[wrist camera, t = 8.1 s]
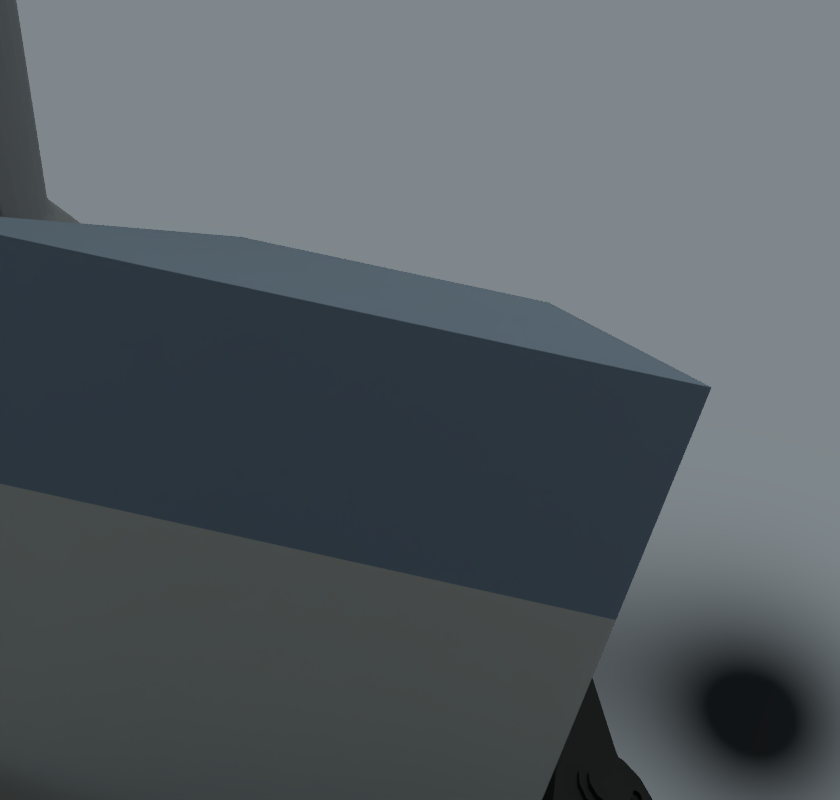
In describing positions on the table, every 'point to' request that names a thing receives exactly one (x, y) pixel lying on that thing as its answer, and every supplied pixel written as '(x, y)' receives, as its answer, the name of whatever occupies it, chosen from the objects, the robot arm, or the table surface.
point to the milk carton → (305, 521)
